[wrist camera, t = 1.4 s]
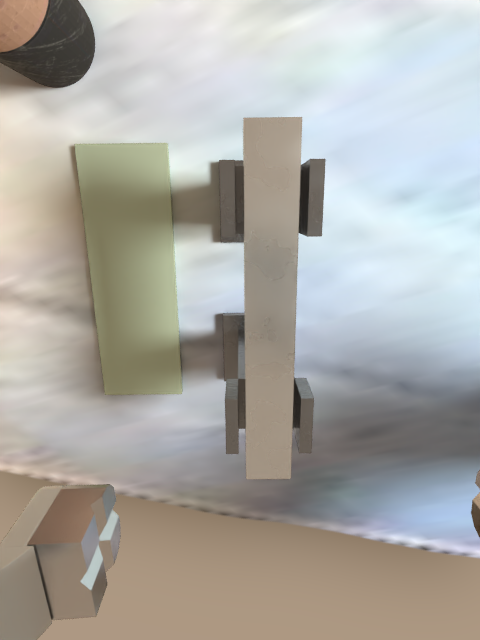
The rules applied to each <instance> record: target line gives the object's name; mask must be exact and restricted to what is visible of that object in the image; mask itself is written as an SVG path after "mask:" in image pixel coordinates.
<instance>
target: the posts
mask: <svg viewBox="0 0 480 640" xmlns="http://www.w3.org/2000/svg"><path fill="white" fill-rule="evenodd" d="M219 177H220V219H221V242H244V181H243V160H241V161H234V160H219ZM324 179H325V159H310V160H308V161H307V162H305V163H304V164H302V165H301V169H300V200H299V232H298V233H300V234H303V235H305V236H322V220H323V200H324ZM223 342H224V381H226V393H225V418H226V454H238V450H239V429H245V313H223ZM313 407H314V397H313V395H312V392H311V390H310V387H309V384H308V382H307V379H306V378H294V391H293V423H292V428H293V430H294V434H295V438H296V442H297V446H298V451H299V453H311V449H312V428H313Z"/></svg>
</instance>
